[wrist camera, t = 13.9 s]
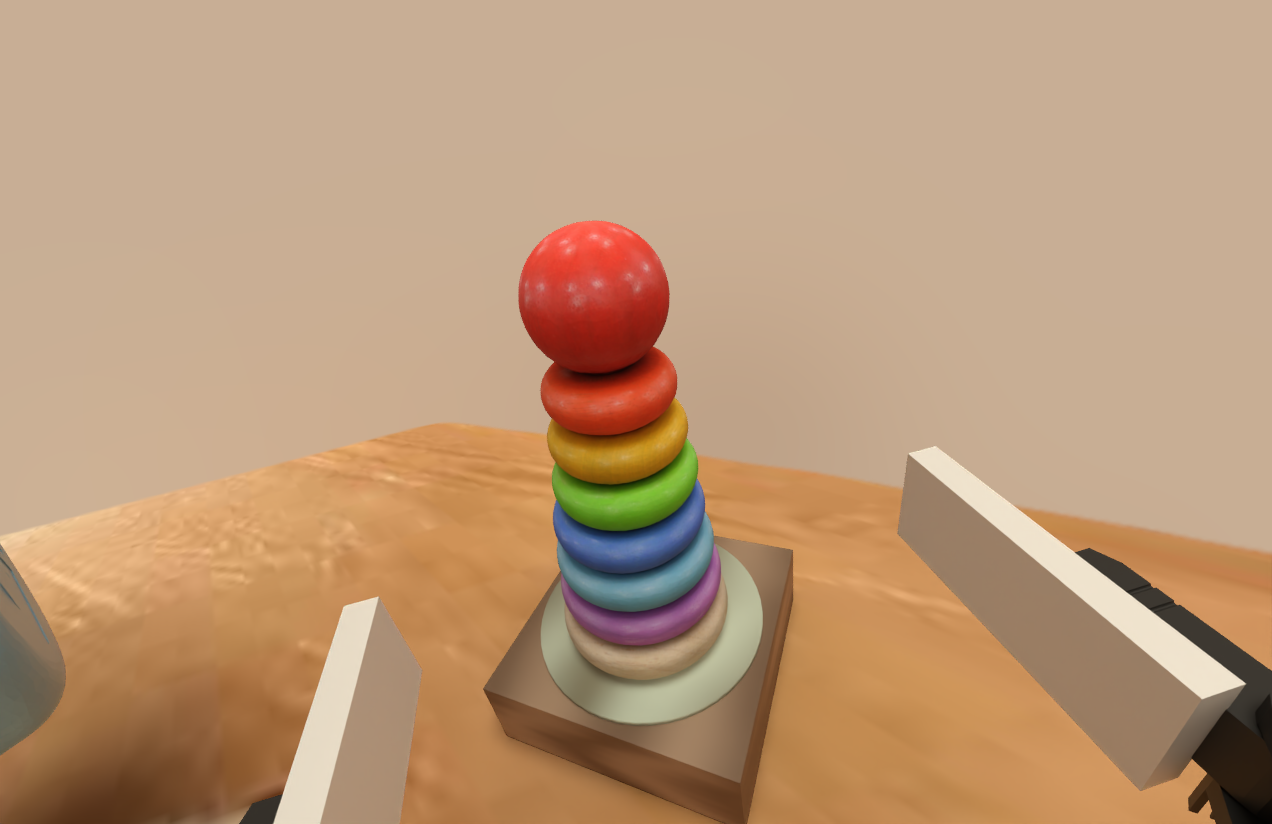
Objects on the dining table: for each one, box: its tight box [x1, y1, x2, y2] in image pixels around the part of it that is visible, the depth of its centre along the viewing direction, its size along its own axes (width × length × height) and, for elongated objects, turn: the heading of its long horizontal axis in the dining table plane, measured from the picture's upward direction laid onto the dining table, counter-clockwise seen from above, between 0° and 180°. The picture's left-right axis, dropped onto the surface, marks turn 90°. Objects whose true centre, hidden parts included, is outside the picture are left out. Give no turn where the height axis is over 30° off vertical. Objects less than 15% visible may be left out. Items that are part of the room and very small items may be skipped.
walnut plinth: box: [483, 536, 793, 824], centre depth 28 cm, size 12×12×4 cm
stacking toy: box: [519, 221, 728, 680], centre depth 22 cm, size 8×8×19 cm
